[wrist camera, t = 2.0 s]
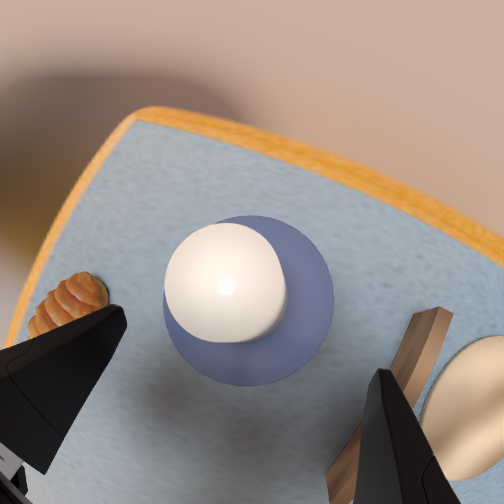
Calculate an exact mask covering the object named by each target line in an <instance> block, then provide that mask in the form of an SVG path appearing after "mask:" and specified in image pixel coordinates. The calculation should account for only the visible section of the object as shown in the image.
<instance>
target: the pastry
mask: <svg viewBox="0 0 504 504" xmlns="http://www.w3.org/2000/svg"><path fill="white" fill-rule="evenodd" d="M108 300H109V297H108V294H107V290H106V288H105V286H104V285H103V284H102V283H101V282H100V281H99V280H98V279H97V278H95V277H93V276H92V275H91V274H90V273H88V272H81V273H75V274H74V275H72V276H71V277H70V278H68V279H67V280H63V281H61V282H60V283H59V286H58V287H57V289H55V290H52V291H50V292H49V293H48V295H47V298H46V299H45V300H43V301H42V302H41V304H40V305H39V306H37V308H36V315H35V316H33V317H32V318H31V319H30V321H29V323H28V329H29V332H30V335H29V337H28V339H27V340H29V339H32V338H34V337H35V338H36V336H39V335H41V334H43V333H45V332H48V331H50V330H52V329H55V328H57V327H59V326H62V325H64V324H66V323H69V322H71V321H73V320H76V319H78V318H80V317H83V316H85V315H87V314H90V313H92V312H94V311H97V310H99V309H101V308H104V307H106V306H108Z"/></svg>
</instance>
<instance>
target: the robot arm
mask: <svg viewBox="0 0 504 504" xmlns="http://www.w3.org/2000/svg"><path fill="white" fill-rule="evenodd" d="M126 328H127V320H126V317H125V314H124V310H123V308H122V307H121V306H118V305H116V304H111V305H108V306H106V307H104V308H101V309H99V310H97V311H94V312H92V313H90V314H87V315H85V316H83V317H80V318H78V319H76V320H73V321H71V322H69V323H66V324H64V325H62V326H59V327H57V328H55V329H52V330H50V331H48V332H45V333H43V334H41V335H39V336H36V338H35V337H34V338H32V339H29V340H27V341H24V342H22V343H20V344H17V345H14V346H11V347H9V348H6V349H3V350H0V504H32V503H31V502H30V501H29V500H28V499H27V498H26V497H25V495H26V493H27V492H28V488H27V482H26V475H25V468H24V466H23V465H22V463H23V462H24V461H25V462H26V463H27V464H29V465H30V466H31V467H33V468H34V469H36V470H37V471H39V472H40V473H42V474H43V475H45V474H46V472H47V471H48V469H49V467H50V465H51V463H52V461H53V459H54V457H55V455H56V453H57V451H58V449H59V448H60V446H61V444H62V442H63V440H64V438H65V436H66V435H67V433H68V431H69V429H70V427H71V426H72V424H73V422H74V420H75V418H76V417H77V415H78V413H79V412H80V410H81V408H82V406H83V405H84V403H85V401H86V400H87V398H88V396H89V394H90V393H91V391H92V389H93V388H94V386H95V385H96V383H97V381H98V380H99V378H100V376H101V375H102V373H103V371H104V370H105V368H106V367H107V365H108V363H109V362H110V360H111V358H112V356H113V354H114V352H115V350H116V348H117V346H118V344H119V342H120V340H121V338H122V336H123V334H124V332H125V330H126ZM353 504H461V503H460V501H459V499H458V498H457V496H456V494H455V493H454V491H453V489H452V488H451V486H450V484H449V482H448V480H447V479H446V477H445V475H444V473H443V471H442V469H441V467H440V465H439V463H438V461H437V459H436V456H435V455H434V452H433V450H432V448H431V446H430V444H429V442H428V440H427V438H426V436H425V434H424V432H423V430H422V428H421V426H420V424H419V422H418V420H417V418H416V416H415V414H414V412H413V410H412V408H411V406H410V404H409V403H408V401H407V399H406V397H405V395H404V393H403V391H402V389H401V388H400V386H399V384H398V382H397V380H396V378H395V377H394V375H393V373H392V371H391V370H389V369H383V368H379V369H378V370H377V371H376V373H375V375H374V376H373V378H372V380H371V382H370V384H369V387H368V392H367V399H366V406H365V412H364V417H363V423H362V429H361V439H360V451H359V461H358V471H357V479H356V487H355V494H354V501H353Z"/></svg>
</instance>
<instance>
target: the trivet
mask: <svg viewBox="0 0 504 504" xmlns="http://www.w3.org/2000/svg"><path fill="white" fill-rule="evenodd" d="M419 424H420V426H421V428H422V430H423V432H424V434H425V436H426V438H427V440H428V442H429V444H430V446H431V448H432V450H433V452H434V455H435V456H436V459H437V461H438V463H439V465H440V467H441V469H442V471H443V473H444V475H445V477H446V479H447V480H450V481H461V480H466V479H470V478H473V477H475V476H478V475H480V474H482V473H483V472H485V471H487V470H488V469H490V468H491V467H493V466H494V465H495V464H496V463H497V462H499V461H500V460H501V459H502V458H503V457H504V336H492V337H485V338H481V339H479V340H476V341H474V342H472V343H471V344H469V345H467V346H466V347H464V348H463V349H462V350H460V351H459V352H458V353H457V354H456V355H455V356H454V357H453V358H452V359H451V360H450V361H449V362H448V363H447V365H446V366H445V367H444V368H443V370H442V371H441V373H440V374H439V375H438V377H437V379H436V380H435V382H434V384H433V386H432V388H431V390H430V392H429V394H428V396H427V399H426V401H425V403H424V407H423V410H422V413H421V417H420V422H419Z"/></svg>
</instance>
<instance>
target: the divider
mask: <svg viewBox="0 0 504 504" xmlns="http://www.w3.org/2000/svg"><path fill="white" fill-rule="evenodd" d="M452 316H453V313H451V312H449V311H448V310H446V309H444V308H442V307H440V306H439V307H436V308H433V309H429V310H426V311H423V312H419V313H416V314H413V317H412V319H411V322H410V324H409V327H408V329H407V332H406V334H405V336H404V339H403V341H402V343H401V346H400V348H399V350H398V352H397V355H396V357H395V359H394V361H393V363H392V365H391V367H390V369H389V370H391V371H392V373H393V375H394V377H395V378H396V380H397V382H398V384H399V386H400V388H401V389H402V391H403V393H404V395H405V397H406V399H407V401H408V403H409V404H410V406H411V408H412V409H413V407H414V405H415V403H416V402H417V400H418V398H419V396H420V394H421V392H422V390H423V388H424V385H425V383H426V381H427V379H428V377H429V375H430V372H431V370H432V368H433V366H434V363H435V361H436V359H437V356H438V354H439V351H440V349H441V346H442V344H443V341H444V338H445V336H446V333H447V330H448V327H449V325H450V322H451V319H452ZM362 423H363V419H362V421H361V423H360V424H359V426H358V428H357V429H356V431H355V433H354V434H353V436H352V437H351V439H350V440H349V442H348V444H347V445H346V447H345V448H344V450H343V451H342V453H341V454H340V455H339V457H338V458H337V460H336V461H335V463H334V464H333V465H332V467H331V468H330V470H329V471H328V472H327V474H326V480H327V487H328V494H329V502H330V504H349V503H350V502H351V500H352V499H353V498H354V494H355V487H356V479H357V471H358V461H359V451H360V439H361V429H362Z"/></svg>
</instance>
